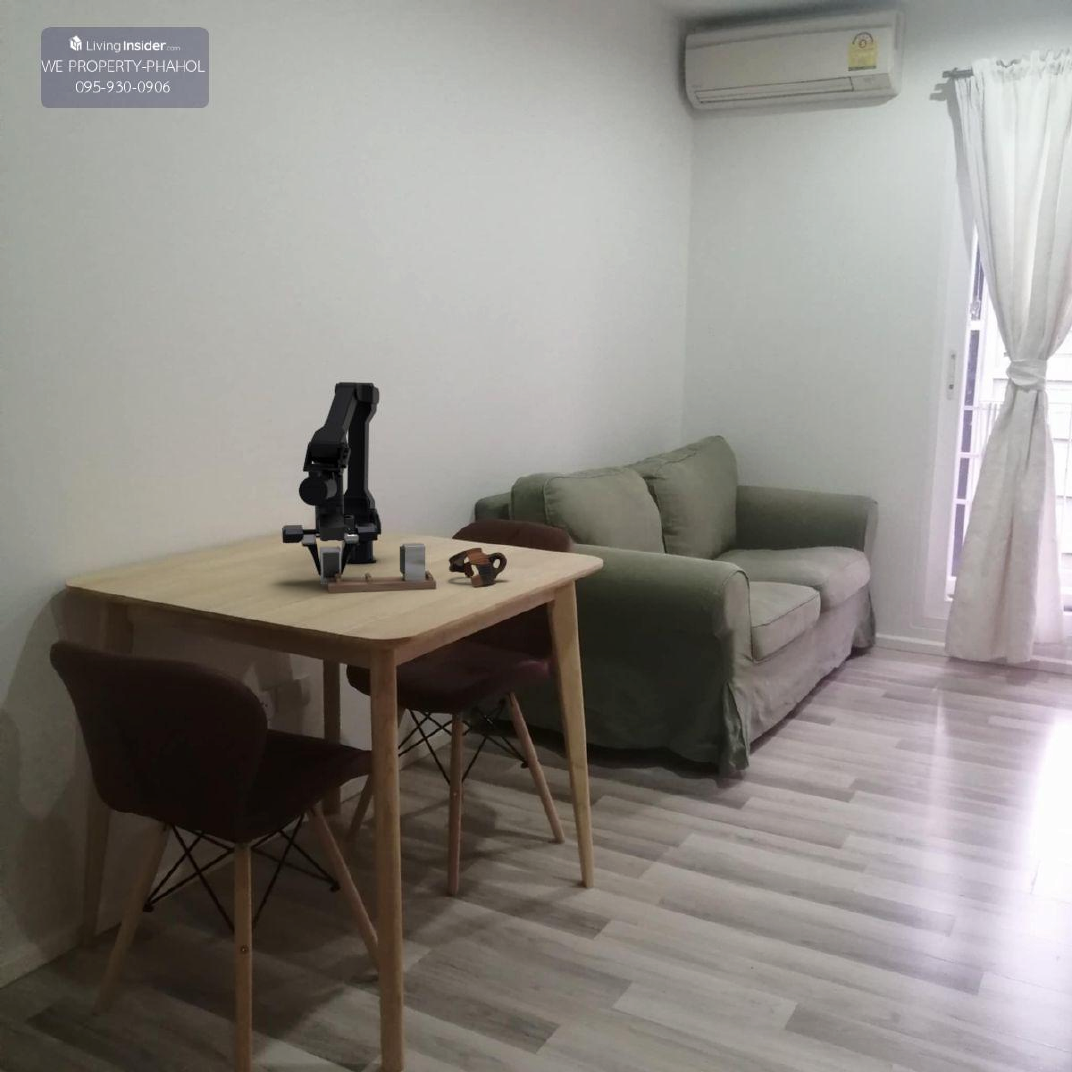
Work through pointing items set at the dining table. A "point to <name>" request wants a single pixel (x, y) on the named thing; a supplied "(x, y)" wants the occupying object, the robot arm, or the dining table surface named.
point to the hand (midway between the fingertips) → (330, 574)
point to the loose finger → (329, 563)
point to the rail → (411, 579)
